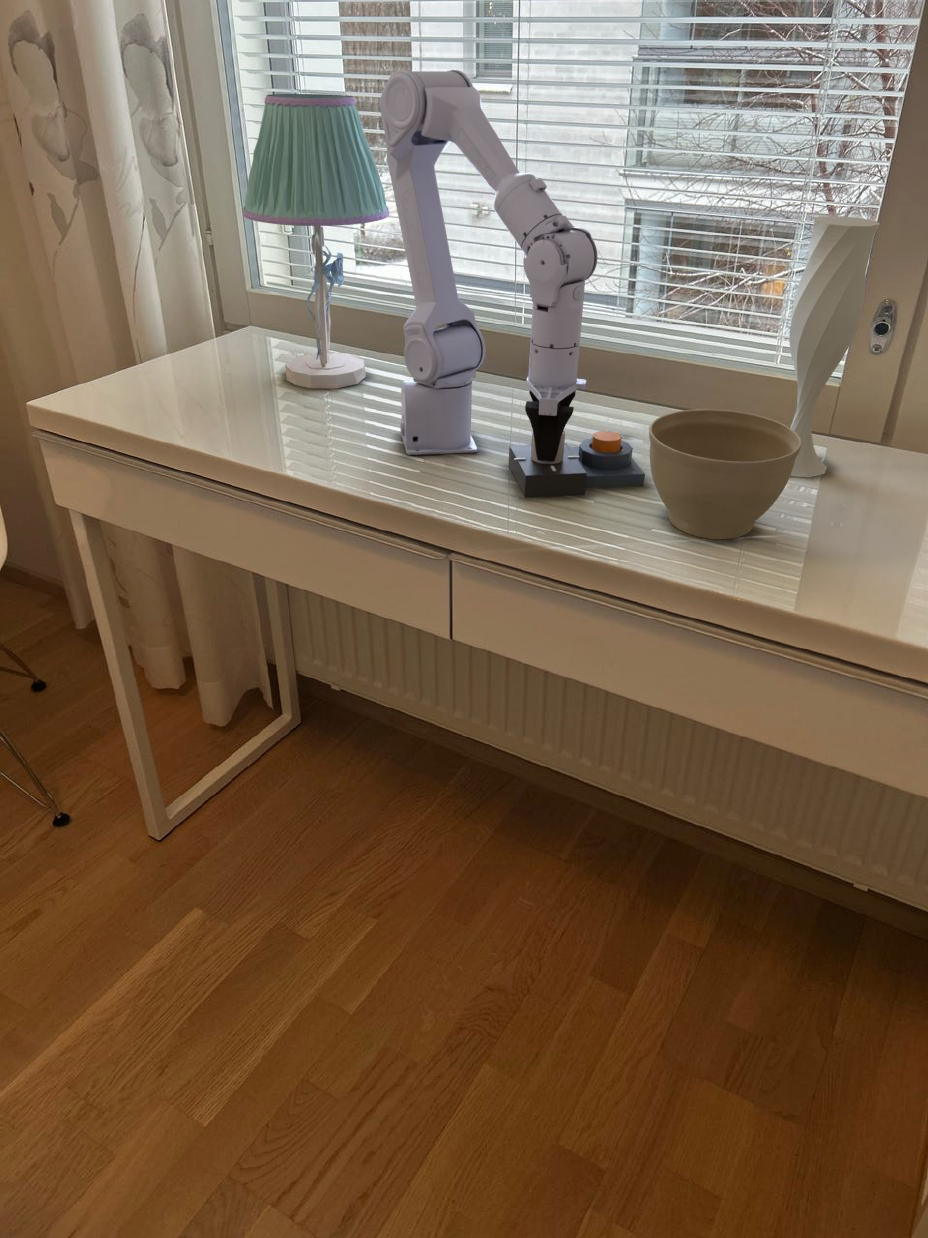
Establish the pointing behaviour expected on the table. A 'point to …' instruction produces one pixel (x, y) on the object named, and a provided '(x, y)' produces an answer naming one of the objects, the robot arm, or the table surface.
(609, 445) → the button
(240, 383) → the table surface
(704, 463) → the planter bowl
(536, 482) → the dial panel
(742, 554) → the table surface
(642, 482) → the button base
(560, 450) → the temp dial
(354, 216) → the table lamp
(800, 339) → the vase
